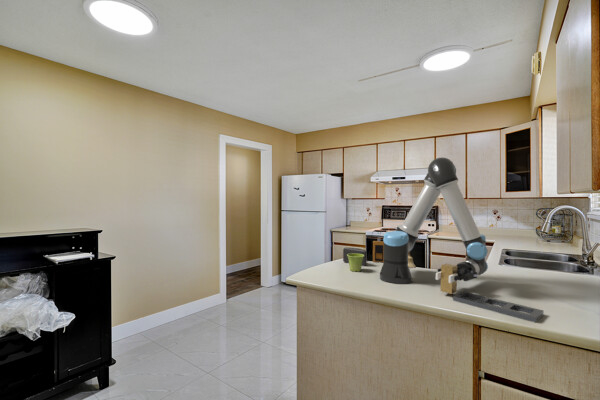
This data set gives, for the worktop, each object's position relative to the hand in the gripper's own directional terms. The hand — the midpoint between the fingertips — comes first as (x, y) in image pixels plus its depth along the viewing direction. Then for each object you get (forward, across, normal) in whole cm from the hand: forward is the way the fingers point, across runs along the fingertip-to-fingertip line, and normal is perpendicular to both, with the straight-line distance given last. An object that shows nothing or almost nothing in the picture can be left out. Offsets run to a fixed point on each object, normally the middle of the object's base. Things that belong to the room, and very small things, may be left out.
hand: (443, 277), depth 118 cm
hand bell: (-40, +39, -9) cm, 57 cm away
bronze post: (-5, 0, -7) cm, 8 cm away
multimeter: (-38, +59, -9) cm, 71 cm away
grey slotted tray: (-5, -17, -8) cm, 19 cm away
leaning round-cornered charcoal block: (-18, +62, -9) cm, 65 cm away
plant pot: (-6, +51, -9) cm, 52 cm away
